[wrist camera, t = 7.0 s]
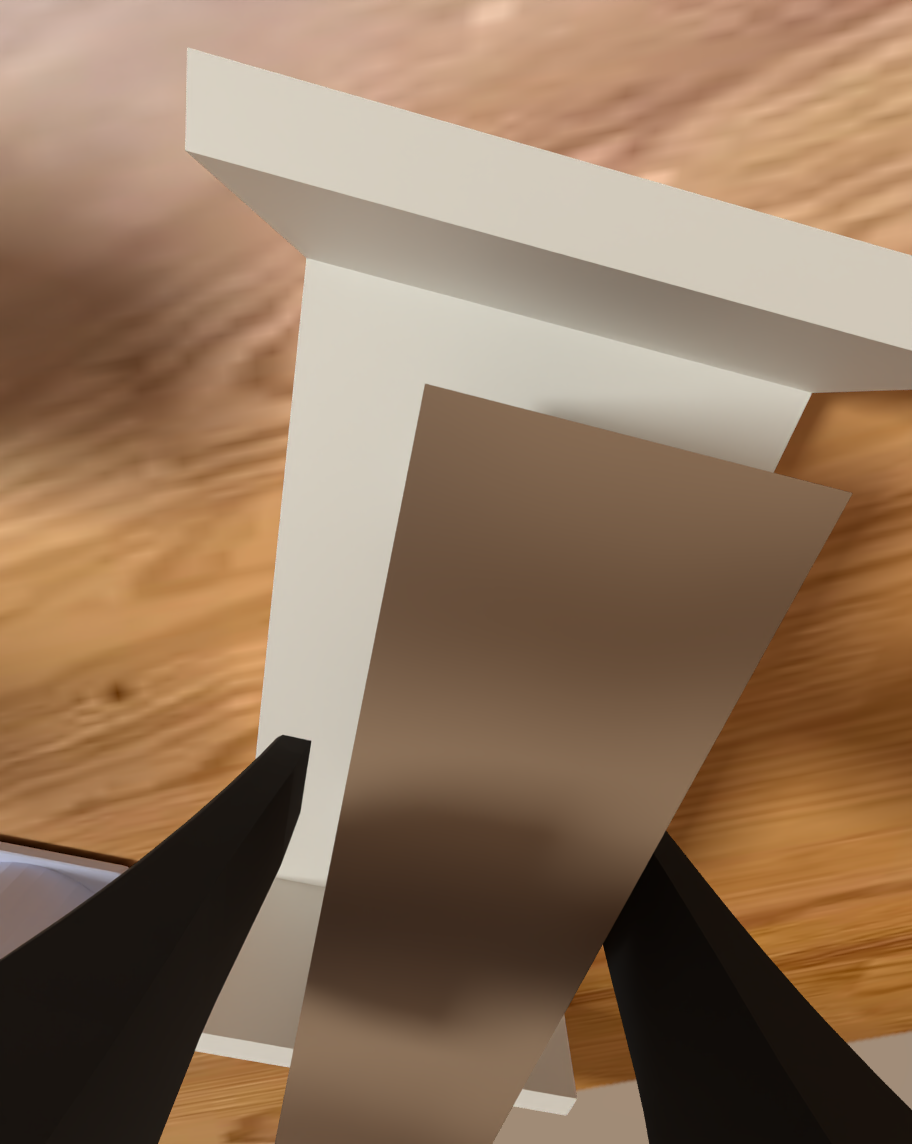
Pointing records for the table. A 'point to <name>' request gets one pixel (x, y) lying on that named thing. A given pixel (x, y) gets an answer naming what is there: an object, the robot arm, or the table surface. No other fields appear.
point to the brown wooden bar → (524, 747)
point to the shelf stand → (486, 390)
